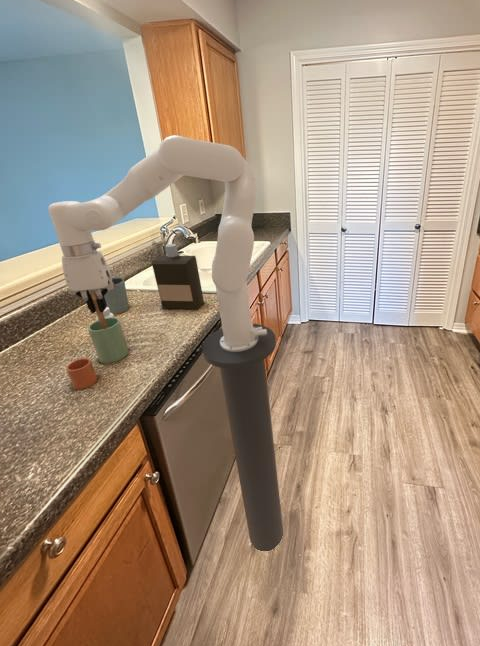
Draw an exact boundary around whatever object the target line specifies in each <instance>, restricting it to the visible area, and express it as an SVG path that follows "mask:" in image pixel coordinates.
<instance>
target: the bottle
mask: <svg viewBox="0 0 480 646" xmlns="http://www.w3.org/2000/svg"><path fill="white" fill-rule="evenodd" d="M164 247H165V252H166V255H158V256H157V257H155V258H153V259H151V260H150V262H151V266H152V270H153V274H154V278H155V282H156V286H157V291H158V295H159V299H160V303H161V307H162V309H168V310H169V309H170V310H171V309H172V310H199V308H200V307H201V306H203V304H204V302H205V300H204V295H203V289H202V282H201V278H200V272H199V266H198V261H197V257H196V255H181V254H179V250H178V245H177V244H176V243H170V244H166V245H165V246H164Z"/></svg>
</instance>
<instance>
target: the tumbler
mask: <svg viewBox="0 0 480 646" xmlns="http://www.w3.org/2000/svg"><path fill="white" fill-rule="evenodd" d="M105 321H106V324H107V327H109V328H107V329H103V330H101V326H100V323H99V320H98V321H96V320H95V321H93V322H92V323H90V324H89V325H88V327H87V331H88V333H89V336H90V339H91V341H92V344H93V348H94V350H95V353H96V355H97V359H98V361H99V362H100V363H102V364H111V363H116V362H118V361H120V360H123V359H124V358H126V356H128V354H129V352H130V351H129V346H128V342H127V340H126V337H125V333H124V330H123V327H122V323H121V319H120V318H118V317H115V316H114V317H110V318H105Z"/></svg>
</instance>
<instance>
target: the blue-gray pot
mask: <svg viewBox="0 0 480 646" xmlns="http://www.w3.org/2000/svg"><path fill="white" fill-rule="evenodd" d="M112 282H113V283H114V284H115V286H116V287H115V288H114V289H113V290H111V291H108V292H107V293H106V294H105V295H104V297H105V301H106V304H107V307H109V309H110V313H113V315H116V314H121V313H123V312H126V311H128V309H129V308H130V304H129V298H128V293H127V288H126V282H125V278H123V277H119V276H113V277H112Z"/></svg>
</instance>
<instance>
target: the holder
mask: <svg viewBox="0 0 480 646" xmlns="http://www.w3.org/2000/svg"><path fill="white" fill-rule="evenodd" d="M65 370H66V372H67V375H68V378H69V380H70V382H71V385H72V387H73V388H74V390H84V389H87V388H89V387H92V386H93V385H94V384H96V383H97V381H98V376H97V373H96V371H95V367H94V365H93V362H92V359H91V358H89V357H83V358H78V359H75V360H73V361H71V362H69V363H68V364H67V366H66V367H65Z"/></svg>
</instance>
